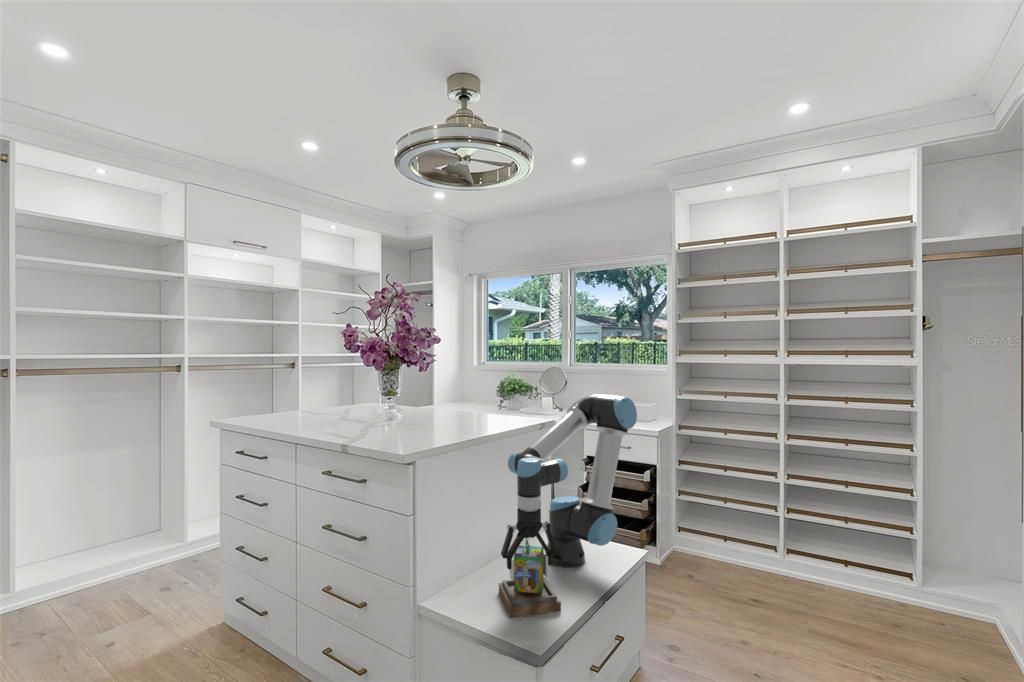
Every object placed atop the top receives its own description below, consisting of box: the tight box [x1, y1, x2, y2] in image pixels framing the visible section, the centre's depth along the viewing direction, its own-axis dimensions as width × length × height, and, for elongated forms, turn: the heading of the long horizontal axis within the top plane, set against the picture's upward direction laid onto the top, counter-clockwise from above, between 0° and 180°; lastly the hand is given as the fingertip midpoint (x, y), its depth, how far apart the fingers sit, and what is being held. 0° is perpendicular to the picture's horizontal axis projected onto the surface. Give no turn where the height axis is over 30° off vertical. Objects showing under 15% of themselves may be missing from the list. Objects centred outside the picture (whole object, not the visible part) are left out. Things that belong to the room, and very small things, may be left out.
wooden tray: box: [498, 576, 562, 619], centre depth 160 cm, size 16×16×4 cm
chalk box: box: [513, 538, 544, 594], centre depth 161 cm, size 9×9×15 cm
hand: (528, 576), depth 160 cm, fingers closed on chalk box, 10 cm apart
